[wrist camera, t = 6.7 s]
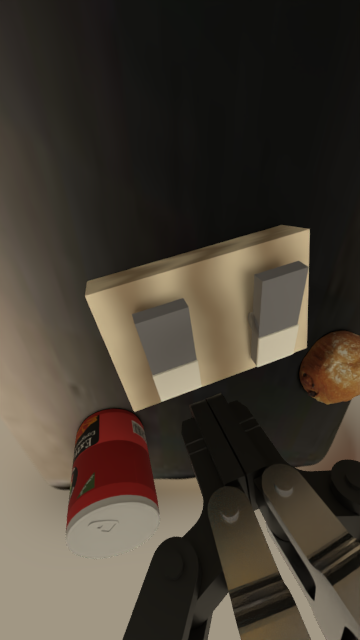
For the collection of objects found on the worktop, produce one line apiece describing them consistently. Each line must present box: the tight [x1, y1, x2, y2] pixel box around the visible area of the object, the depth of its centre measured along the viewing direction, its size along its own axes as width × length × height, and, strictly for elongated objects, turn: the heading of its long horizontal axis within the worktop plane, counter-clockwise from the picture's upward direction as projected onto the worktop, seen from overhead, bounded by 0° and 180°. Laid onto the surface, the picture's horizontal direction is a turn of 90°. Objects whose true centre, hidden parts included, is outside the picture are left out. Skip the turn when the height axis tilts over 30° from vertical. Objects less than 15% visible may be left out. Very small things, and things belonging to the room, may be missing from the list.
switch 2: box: [248, 261, 309, 367], centre depth 24 cm, size 4×10×2 cm, turn 12°
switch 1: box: [132, 298, 202, 402], centre depth 22 cm, size 4×10×2 cm, turn 13°
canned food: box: [66, 409, 160, 558], centre depth 27 cm, size 8×8×11 cm
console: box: [85, 225, 310, 412], centre depth 26 cm, size 20×13×4 cm, turn 103°
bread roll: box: [299, 331, 360, 404], centre depth 35 cm, size 10×10×8 cm
